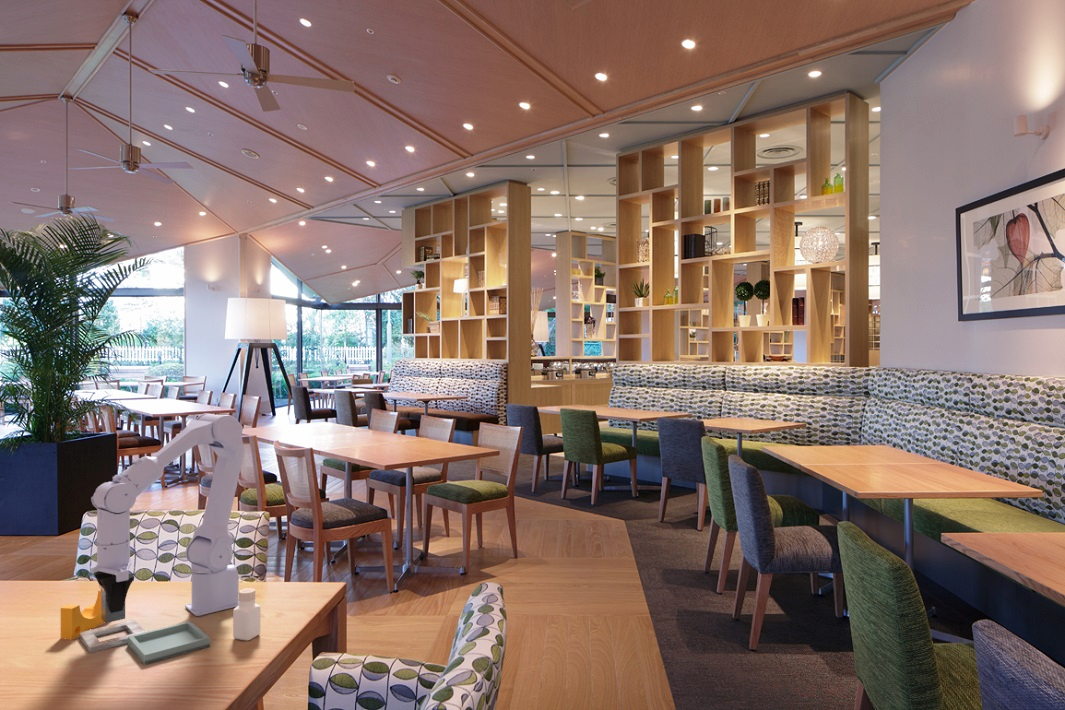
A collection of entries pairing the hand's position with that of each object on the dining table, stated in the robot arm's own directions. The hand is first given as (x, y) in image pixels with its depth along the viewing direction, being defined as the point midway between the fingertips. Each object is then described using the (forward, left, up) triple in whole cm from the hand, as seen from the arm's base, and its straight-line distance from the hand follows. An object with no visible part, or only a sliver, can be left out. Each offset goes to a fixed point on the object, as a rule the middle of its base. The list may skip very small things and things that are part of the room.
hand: (113, 608), depth 140 cm
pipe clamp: (+3, -10, -7) cm, 13 cm away
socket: (0, 0, -6) cm, 6 cm away
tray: (-7, +12, -6) cm, 15 cm away
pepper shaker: (-20, +18, -6) cm, 28 cm away
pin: (0, 0, -2) cm, 2 cm away
